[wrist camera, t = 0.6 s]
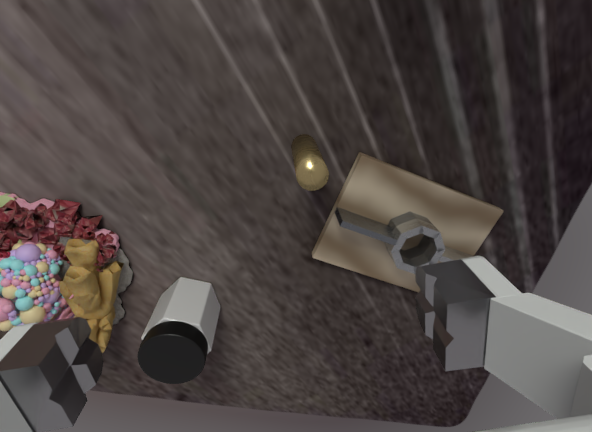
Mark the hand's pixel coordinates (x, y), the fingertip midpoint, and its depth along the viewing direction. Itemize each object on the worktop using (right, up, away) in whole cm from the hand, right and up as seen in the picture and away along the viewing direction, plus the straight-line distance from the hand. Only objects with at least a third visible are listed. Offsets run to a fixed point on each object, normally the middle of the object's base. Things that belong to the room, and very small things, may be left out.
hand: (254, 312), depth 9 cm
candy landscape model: (-35, -5, +44) cm, 56 cm away
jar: (-15, -10, +47) cm, 50 cm away
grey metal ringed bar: (+17, 0, +42) cm, 46 cm away
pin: (+2, +11, +38) cm, 40 cm away
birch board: (+16, 0, +44) cm, 47 cm away
